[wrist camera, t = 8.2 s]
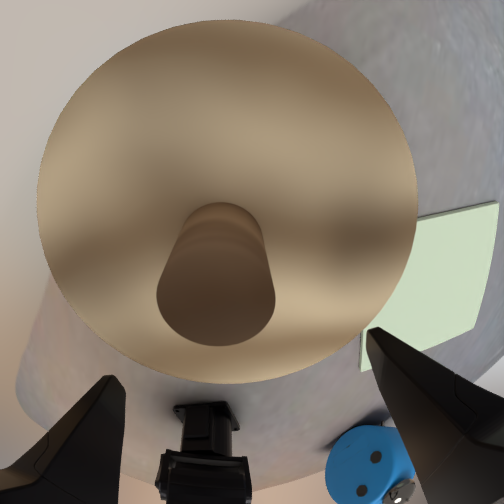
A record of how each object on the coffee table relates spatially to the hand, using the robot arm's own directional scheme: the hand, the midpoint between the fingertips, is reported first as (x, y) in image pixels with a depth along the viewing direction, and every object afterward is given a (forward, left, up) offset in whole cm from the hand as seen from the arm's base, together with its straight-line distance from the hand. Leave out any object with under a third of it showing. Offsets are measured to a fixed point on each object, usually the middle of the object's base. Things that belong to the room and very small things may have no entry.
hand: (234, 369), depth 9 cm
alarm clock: (-35, -10, -13) cm, 39 cm away
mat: (-10, -17, -13) cm, 24 cm away
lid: (+3, 0, -5) cm, 6 cm away
